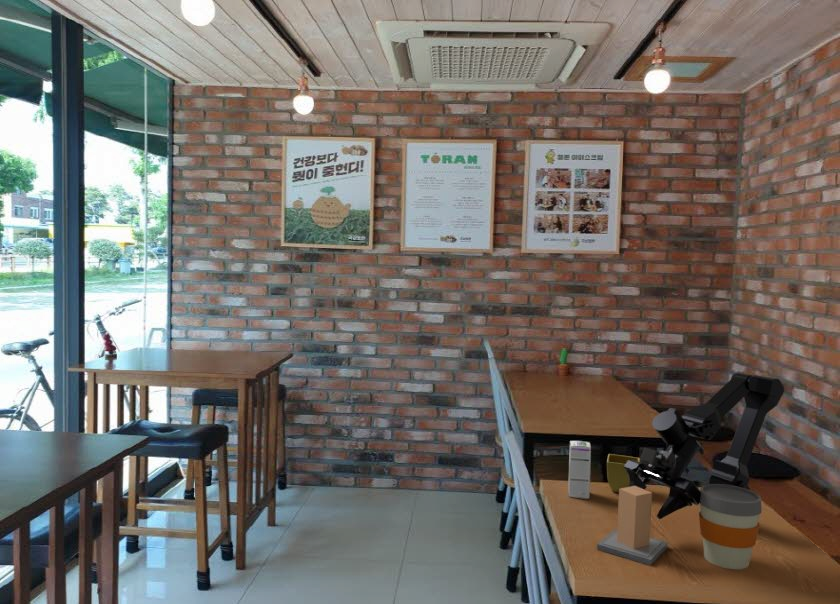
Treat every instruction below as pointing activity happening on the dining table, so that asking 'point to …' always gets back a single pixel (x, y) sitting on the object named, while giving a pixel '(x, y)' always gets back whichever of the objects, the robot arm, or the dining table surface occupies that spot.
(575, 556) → the dining table surface
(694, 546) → the dining table surface
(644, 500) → the block
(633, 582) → the dining table surface
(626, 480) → the flower pot
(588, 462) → the syrup box
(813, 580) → the dining table surface
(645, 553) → the plate
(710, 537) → the reusable coffee cup
